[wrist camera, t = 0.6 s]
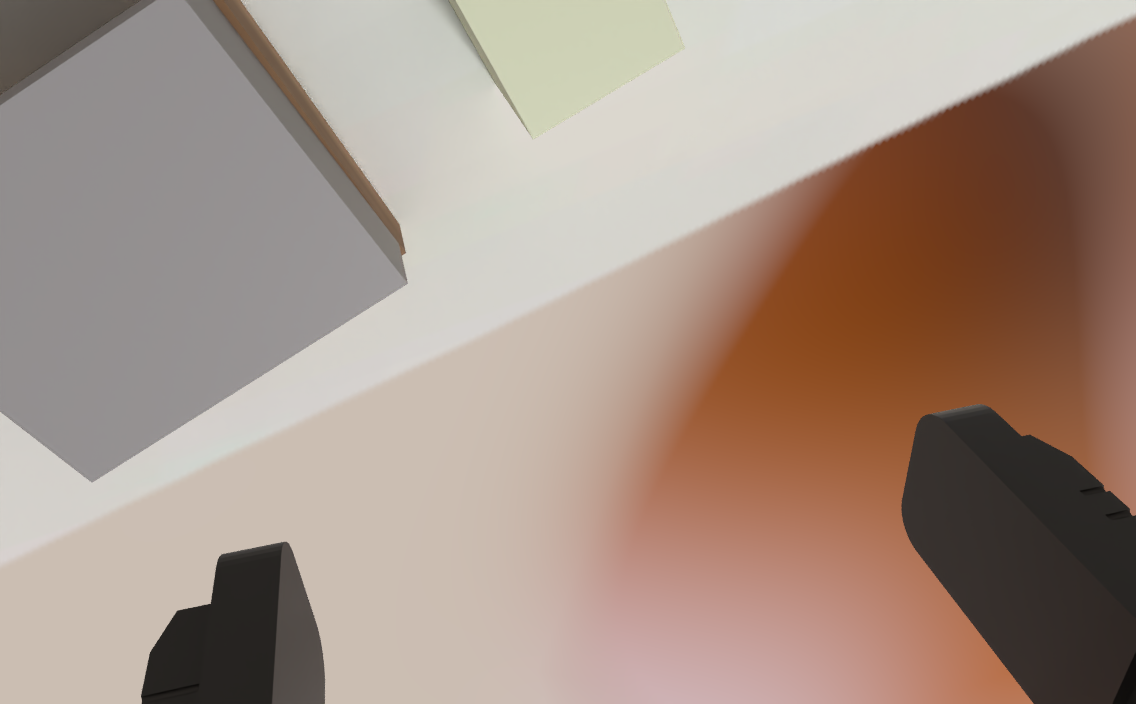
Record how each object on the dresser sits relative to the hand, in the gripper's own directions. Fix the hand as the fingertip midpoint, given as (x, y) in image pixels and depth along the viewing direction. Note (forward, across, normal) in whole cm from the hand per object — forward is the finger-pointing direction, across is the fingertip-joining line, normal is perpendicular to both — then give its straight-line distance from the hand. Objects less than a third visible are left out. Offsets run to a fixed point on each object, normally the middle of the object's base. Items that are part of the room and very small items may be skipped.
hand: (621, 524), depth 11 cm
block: (+22, -3, -2) cm, 23 cm away
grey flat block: (+20, +10, +3) cm, 22 cm away
